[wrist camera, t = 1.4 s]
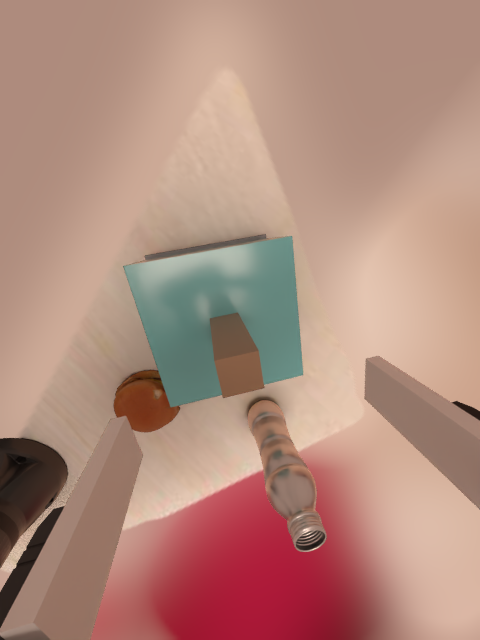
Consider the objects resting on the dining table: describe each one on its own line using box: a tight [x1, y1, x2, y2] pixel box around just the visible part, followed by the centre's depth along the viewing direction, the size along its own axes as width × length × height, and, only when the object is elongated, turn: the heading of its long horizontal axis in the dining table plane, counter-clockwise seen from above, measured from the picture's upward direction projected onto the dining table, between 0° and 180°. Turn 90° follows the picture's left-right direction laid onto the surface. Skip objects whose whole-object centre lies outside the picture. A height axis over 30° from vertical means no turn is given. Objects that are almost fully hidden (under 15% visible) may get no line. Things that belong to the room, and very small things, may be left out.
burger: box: [114, 370, 180, 432], centre depth 35 cm, size 10×9×5 cm
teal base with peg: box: [123, 236, 303, 407], centre depth 25 cm, size 16×16×20 cm
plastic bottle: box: [248, 400, 327, 552], centre depth 33 cm, size 6×7×20 cm
